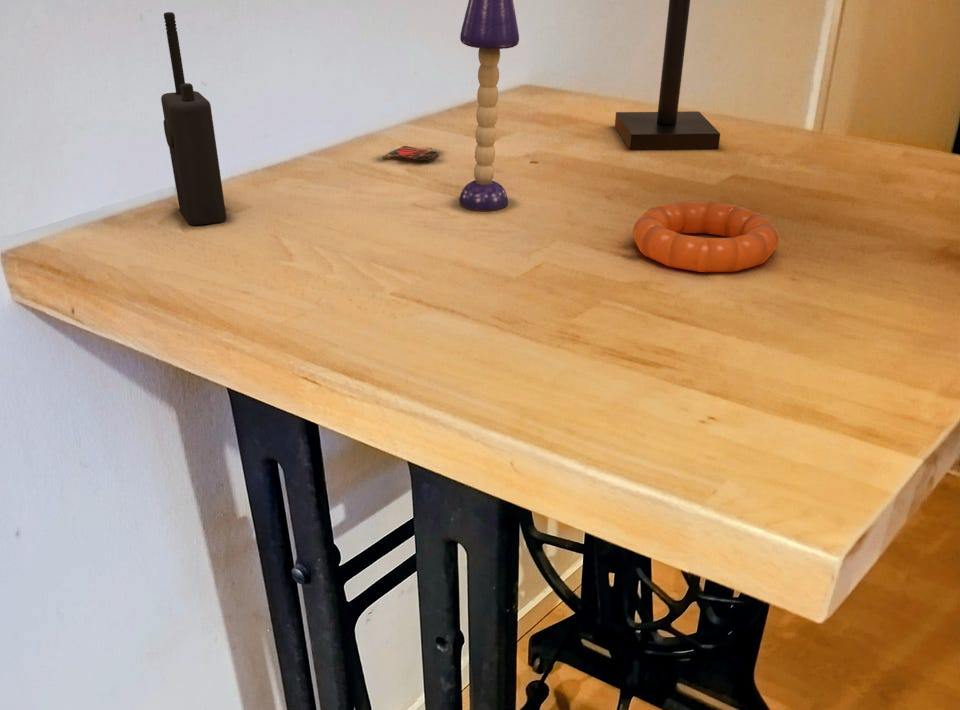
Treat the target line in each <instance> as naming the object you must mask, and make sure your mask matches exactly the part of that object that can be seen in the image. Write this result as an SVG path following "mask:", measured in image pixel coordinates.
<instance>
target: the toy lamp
mask: <svg viewBox="0 0 960 710" xmlns="http://www.w3.org/2000/svg"><path fill="white" fill-rule="evenodd" d="M460 30H461V31H460V36H459V39H460V42H461V43H462V45H465V46H467V47H470V48H474V49H478V53H477V54H478V61H479V67H478V70H477V81H478V83H479V86H478V89H477V95H476V98H477V102H478V106H477V109H476V115H475V116H476V117H475V118H476V122H477V127H476V131H475V141H476V144H477V145H476V147H475V150H474V160H475V163H476V164H475V166H474V168H473V169H474V170H473V171H474V172H473V177H474V180H472V181H470V182H468V183H467V184H466V185H465V186H464V187H463V188H462V190H461V192H460V194H459V199H458V202H459V204H460V205H461V206H462V207H464V208H466V209H468V210H473V211H481V212H486V211H487V212H489V211H498V210H502V209H504V208H506V207H508V205H509V197H508V194H507V192H506V189H505V188H504V186H503V185H502V184H500V183H499V182H497V181H495V180H494V176H495V168H494V162H495V158H496V148H495V146H494V145H495V143H496V140H497V129H496V126H495V125H496V124H497V121H498V108H497V103H498V101H499V88H498V87H497V86H498V83H499V80H500V69H499V66H498V65H499V63H500V59H501V50H502V49H503V50H504V49H510V48H511V49H512V48H515V47H517V46H518V45H519V42H520V33H519V27H518V22H517V15H516V9H515V4H514V0H468V1H467V7H466V11H465V13H464V18H463V22H462V26H461V29H460Z"/></svg>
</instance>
